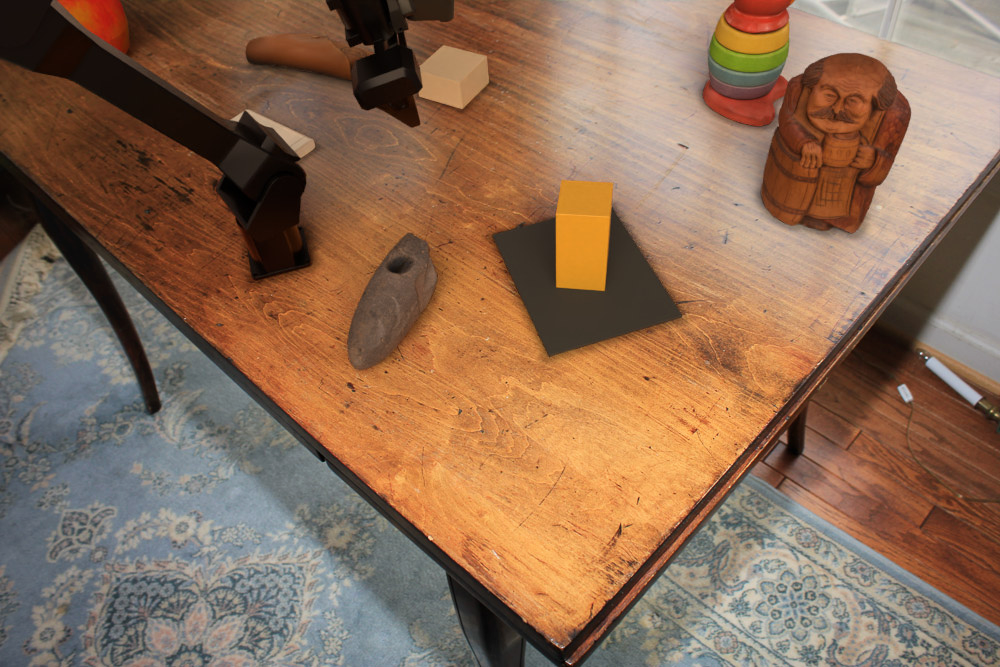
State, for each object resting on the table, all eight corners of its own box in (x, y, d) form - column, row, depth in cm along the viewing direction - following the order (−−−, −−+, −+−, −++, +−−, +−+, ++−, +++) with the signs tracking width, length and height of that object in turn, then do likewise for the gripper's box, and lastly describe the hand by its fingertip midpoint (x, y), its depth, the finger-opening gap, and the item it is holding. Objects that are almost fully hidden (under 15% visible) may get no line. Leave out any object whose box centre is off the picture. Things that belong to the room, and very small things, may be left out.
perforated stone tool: (381, 391, 70) (366, 345, 64) (334, 374, 71) (316, 328, 66) (453, 283, 78) (445, 234, 73) (409, 270, 80) (399, 221, 74)
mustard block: (555, 287, 76) (555, 213, 69) (561, 253, 79) (561, 179, 72) (604, 291, 75) (610, 217, 68) (608, 257, 79) (613, 182, 71)
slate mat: (681, 317, 73) (682, 315, 73) (548, 357, 71) (548, 354, 71) (609, 205, 84) (609, 203, 84) (492, 237, 82) (492, 234, 82)
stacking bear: (768, 130, 91) (805, -14, 78) (689, 112, 95) (711, -29, 81) (791, 85, 97) (829, -56, 84) (715, 69, 101) (740, -69, 87)
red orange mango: (68, 69, 111) (24, -10, 102) (109, 39, 116) (70, -39, 107) (116, 79, 109) (75, -1, 99) (156, 48, 114) (120, -31, 105)
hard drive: (199, 139, 95) (264, 171, 90) (248, 107, 99) (312, 136, 94) (204, 149, 96) (268, 182, 91) (252, 118, 100) (316, 147, 95)
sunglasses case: (382, 52, 108) (363, 26, 101) (367, 97, 107) (347, 73, 101) (278, 36, 113) (254, 10, 106) (263, 78, 112) (238, 54, 106)
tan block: (462, 109, 98) (459, 82, 95) (419, 96, 101) (414, 70, 98) (489, 82, 102) (487, 55, 99) (446, 71, 105) (443, 44, 102)
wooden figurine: (749, 217, 82) (788, 68, 68) (760, 182, 85) (799, 34, 72) (863, 242, 78) (928, 90, 64) (869, 204, 82) (933, 53, 68)
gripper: (444, -6, 61) (496, 131, 74) (420, -117, 71) (469, 20, 84) (320, 40, 62) (392, 166, 75) (314, -76, 73) (378, 53, 85)
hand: (411, 97), depth 80 cm, fingers open, 9 cm apart
